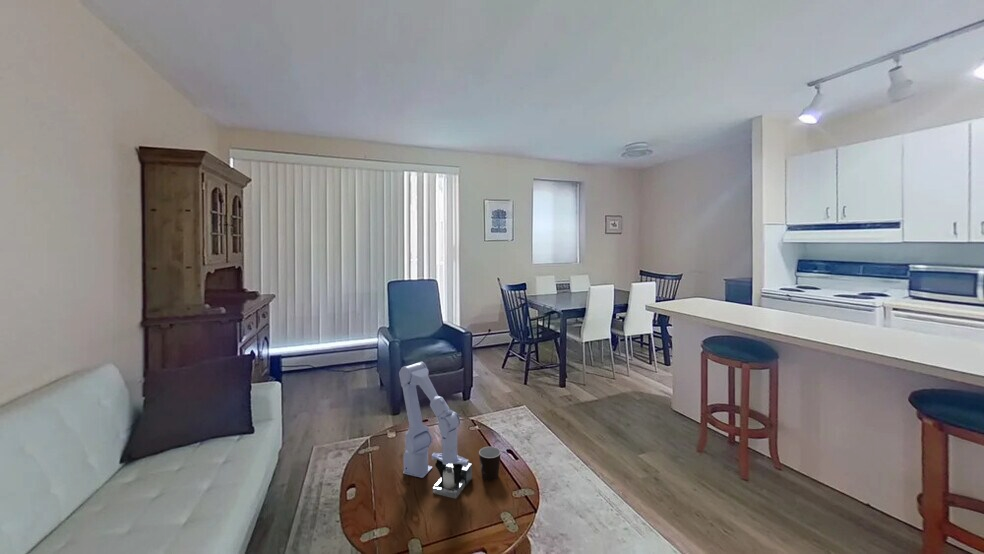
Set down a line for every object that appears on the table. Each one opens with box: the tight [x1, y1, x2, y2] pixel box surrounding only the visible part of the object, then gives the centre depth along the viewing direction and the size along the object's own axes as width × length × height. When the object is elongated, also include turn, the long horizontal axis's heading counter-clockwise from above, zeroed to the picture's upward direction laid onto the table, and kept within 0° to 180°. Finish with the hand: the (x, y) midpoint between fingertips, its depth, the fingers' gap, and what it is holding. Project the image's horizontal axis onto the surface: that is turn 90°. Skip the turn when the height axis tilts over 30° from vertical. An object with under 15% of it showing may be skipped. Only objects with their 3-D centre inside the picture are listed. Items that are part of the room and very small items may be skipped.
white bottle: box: [442, 467, 458, 491], centre depth 147 cm, size 5×5×7 cm
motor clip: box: [432, 462, 473, 500], centre depth 149 cm, size 12×14×7 cm
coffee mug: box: [478, 446, 502, 482], centre depth 156 cm, size 12×9×10 cm
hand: (450, 480), depth 147 cm, fingers closed on white bottle, 5 cm apart
